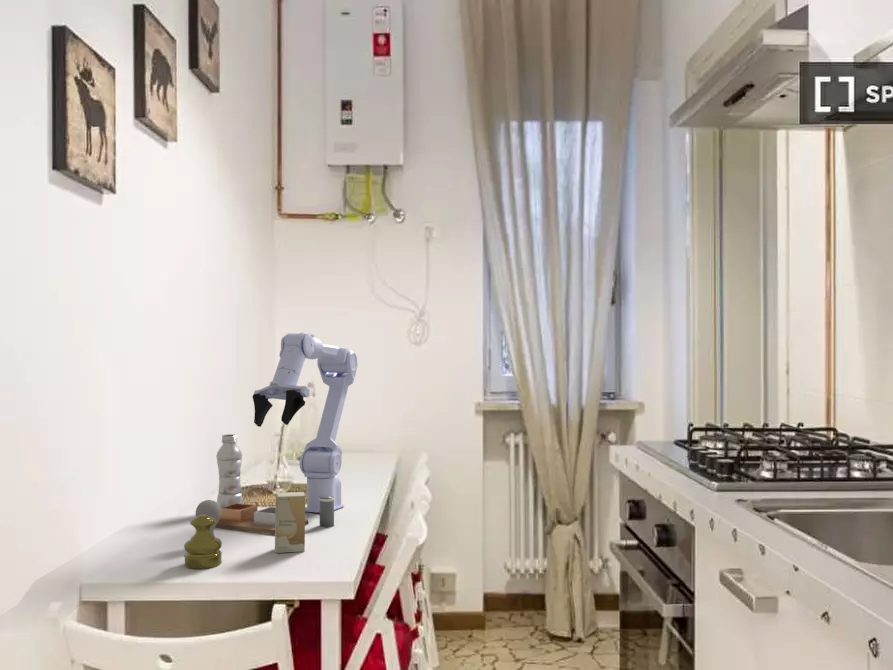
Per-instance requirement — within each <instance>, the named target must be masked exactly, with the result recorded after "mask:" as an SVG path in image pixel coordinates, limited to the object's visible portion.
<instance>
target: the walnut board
mask: <svg viewBox="0 0 893 670" xmlns="http://www.w3.org/2000/svg"><path fill="white" fill-rule="evenodd" d="M308 525H309V519H305V526H308ZM215 528H218V529H224V530H225V529H226V530H233V531H242V532H250V533H257V534H266V535H274V536H275V527H270V526H262V525H254V519H251V520H248V521H245V522H242V523H236V522H228V521H218V522H217V524H216V526H215ZM215 528H214V529H215Z"/></svg>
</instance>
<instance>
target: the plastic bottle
mask: <svg viewBox="0 0 893 670" xmlns="http://www.w3.org/2000/svg"><path fill="white" fill-rule="evenodd" d="M237 437H238V436H237V434H231V433H229V434H222V435H221V444H222V445H221V446H220V448H218V451H217V452H216V462H217V463H216V464H217V469H218V490H217V491H218V494H217V499H216V502H217V503H218V504H219V506H220V508H222V507H225V506H228V505H232V504H235V503H240V504H244V498H243V493H242V487H241V485H242V484H241V467H242V459H243V454H242V453H243V452H242V451H241V449H240V447H239V446H238V445H237V442H238V438H237Z"/></svg>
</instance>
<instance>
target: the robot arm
mask: <svg viewBox="0 0 893 670" xmlns="http://www.w3.org/2000/svg"><path fill="white" fill-rule="evenodd" d="M279 357H280V358H279V361H278V363H277V367H276V370H275V373H274V375H273V378H272V380H271V381H270V382H269V385H267V386H265V387H262V388H261V389H257V390H254V393H253V394H252V401H253V407H254V418H253V423H254V424H255V425H256V426H257V427H262V425H263V424H264V421H265V418H266V416H267V414H268V413H269V411H270V409H272V407H273V403H271V402H270V401H269V399H270V400H272V399H274V400H282V401H285V403H284V407H283V410H282V411H283V412H282V415H281V420H280V421H281V422H282V423H283V424H284V425H285V426H289V424H290V422H291V421H292V419H293V418H294V416H295V415H296V414H297V412H298V411H300V410H301V409H302V407H304V406H305V404H306V401H305V400H304V398H308V397H309V394H310V389H309V388H308V387H307V386H306V385H298V381H299V378H300V376H301V372H302V369H303V366H304V363H305V360H306V359H308V360H316V359H317V362H316V363H317V364H316V365H317V368H318V371H319V374H320V378H321V381H322V382H323V384H325V385H326V386H328V391H327V396H326V399H325V403H324V407H323V411H322V415H321V418H320V421H319V425H318V426H319V427H318V428H317V429H318V430H317V434H316V437H315V438H314V439H312V440H310V441H309V442H307V443H306V444H305V447H304V450H303V451H302V453H301V455H300V458H299V468H300V471H301V473H302V474H303V475H304V477H305V478H306V506H305V513H306V512H308V513H314V514H315V513H317V514H320V504H319V497H320V496H326V495H330V496H334V511H335V510H338V509H341V508H344V507H345V504H342V481H341V479H340V477H339V476H338V474H339V473H340V470H341V468H342V456H343V451H342V449H341V447H340V445H338V444H337V443H336V442H335V441H336V438H337V434H338V429H339V426H340V422H341V418H342V414H343V409H344V406H345V402H346V398H347V394H348V391H349V387H350V386H352V384H354V382H355V378H356V374H357V370H358V357H357V354H356V353H355V351H354V350H349V348H346V347H341V346H338V345H331V344H325V343H323V342H322V341H321V340H320V339H319V338H318V337H315V334H311V333H306V332H299V333H295V332H294V333H291V332H290V333H286V334H285V335H284V336H283V337H281V340H280V351H279Z"/></svg>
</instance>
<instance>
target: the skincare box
mask: <svg viewBox="0 0 893 670" xmlns="http://www.w3.org/2000/svg"><path fill="white" fill-rule="evenodd" d="M275 507H276V515H275V535H274V551H275V553H276V554H282V553H299V552H303V553H304V552H305V551H306V550H305V546H306V545H305V543H306V539H305V537H306V532H305V531H306V525H305V520H306V512H305V507H306V493H305V492H304V491H298V492H296V491H295V492H294V491H293V492H292V491H290V492H289V491H288V492H276V493H275Z"/></svg>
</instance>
